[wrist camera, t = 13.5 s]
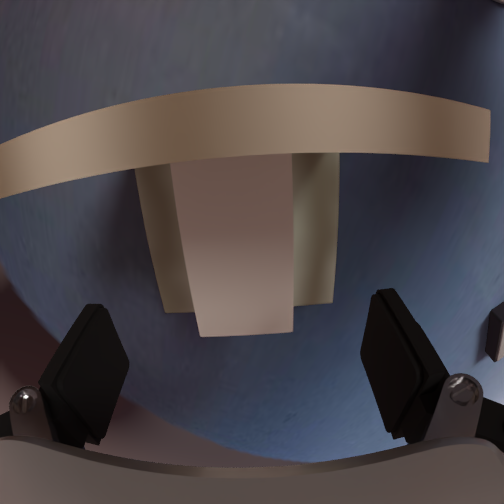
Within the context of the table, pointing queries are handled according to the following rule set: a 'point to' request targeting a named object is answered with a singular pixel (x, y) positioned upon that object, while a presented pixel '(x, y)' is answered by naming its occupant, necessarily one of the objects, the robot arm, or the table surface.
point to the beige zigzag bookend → (243, 144)
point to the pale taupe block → (238, 242)
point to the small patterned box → (496, 333)
